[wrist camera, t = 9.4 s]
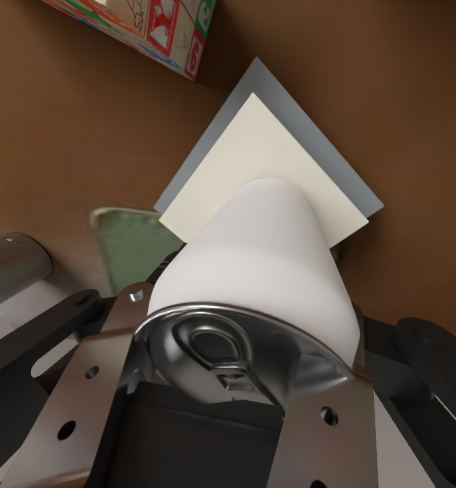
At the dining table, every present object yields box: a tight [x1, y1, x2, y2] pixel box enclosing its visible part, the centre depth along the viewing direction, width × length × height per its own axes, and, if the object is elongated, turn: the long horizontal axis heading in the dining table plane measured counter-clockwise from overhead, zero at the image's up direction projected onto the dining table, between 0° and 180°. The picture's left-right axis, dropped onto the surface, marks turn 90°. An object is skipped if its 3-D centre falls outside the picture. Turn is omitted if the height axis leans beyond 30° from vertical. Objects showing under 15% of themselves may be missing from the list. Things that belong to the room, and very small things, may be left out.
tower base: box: [153, 56, 384, 249], centre depth 19 cm, size 16×16×8 cm
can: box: [133, 178, 360, 420], centre depth 10 cm, size 6×6×12 cm
